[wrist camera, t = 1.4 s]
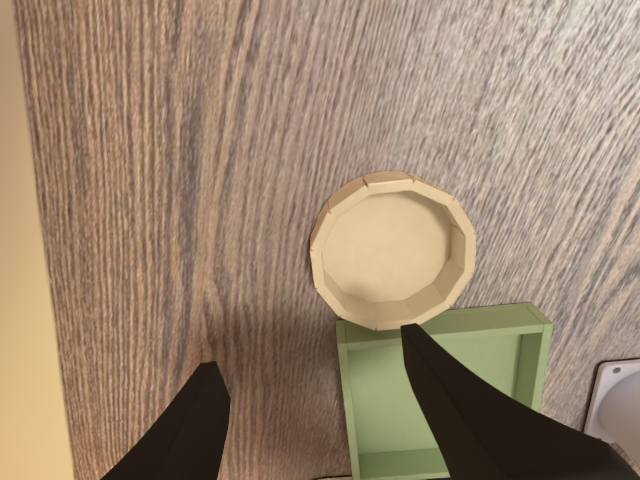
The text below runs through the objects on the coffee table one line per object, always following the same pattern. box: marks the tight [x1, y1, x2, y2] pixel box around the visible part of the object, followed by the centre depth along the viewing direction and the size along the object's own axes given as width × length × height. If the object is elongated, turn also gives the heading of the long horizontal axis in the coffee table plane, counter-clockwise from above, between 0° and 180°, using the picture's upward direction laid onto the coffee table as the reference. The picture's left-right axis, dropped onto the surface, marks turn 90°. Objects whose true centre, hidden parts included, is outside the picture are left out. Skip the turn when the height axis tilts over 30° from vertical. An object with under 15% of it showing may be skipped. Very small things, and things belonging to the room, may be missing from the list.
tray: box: [335, 302, 553, 480], centre depth 25 cm, size 13×13×2 cm
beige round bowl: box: [310, 171, 476, 331], centre depth 20 cm, size 9×9×3 cm
